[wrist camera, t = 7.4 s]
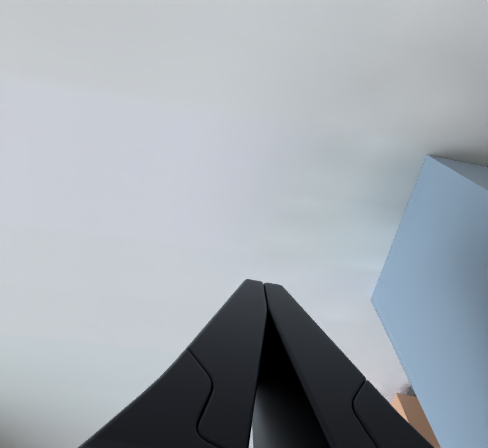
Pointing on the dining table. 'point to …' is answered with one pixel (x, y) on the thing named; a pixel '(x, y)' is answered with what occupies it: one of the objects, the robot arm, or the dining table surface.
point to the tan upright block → (415, 416)
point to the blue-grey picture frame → (442, 299)
